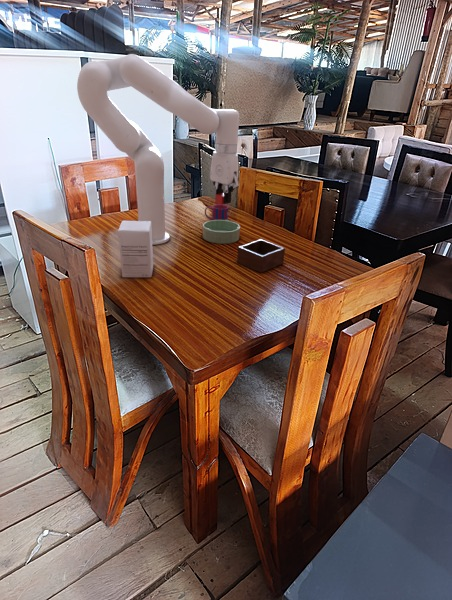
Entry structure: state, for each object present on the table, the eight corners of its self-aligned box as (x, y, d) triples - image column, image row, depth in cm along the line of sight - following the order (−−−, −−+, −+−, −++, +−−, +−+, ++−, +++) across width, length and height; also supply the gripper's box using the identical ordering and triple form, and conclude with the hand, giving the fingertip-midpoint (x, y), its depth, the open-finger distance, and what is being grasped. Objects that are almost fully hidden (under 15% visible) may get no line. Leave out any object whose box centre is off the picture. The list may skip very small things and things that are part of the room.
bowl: (220, 246, 145) (221, 234, 143) (194, 235, 154) (195, 224, 152) (246, 238, 154) (247, 226, 152) (221, 228, 163) (221, 217, 161)
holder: (260, 273, 127) (262, 256, 124) (236, 262, 133) (237, 246, 131) (283, 263, 134) (285, 248, 132) (259, 254, 141) (260, 239, 138)
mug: (225, 225, 165) (226, 209, 162) (202, 222, 168) (202, 206, 164) (229, 221, 171) (230, 205, 168) (207, 218, 173) (207, 202, 170)
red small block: (221, 204, 144) (222, 196, 143) (214, 202, 146) (215, 194, 145) (231, 202, 147) (231, 194, 146) (224, 200, 149) (225, 192, 148)
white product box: (125, 265, 127) (121, 219, 120) (153, 265, 128) (151, 220, 121) (121, 277, 119) (117, 230, 112) (151, 278, 120) (149, 230, 113)
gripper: (201, 146, 140) (200, 198, 149) (236, 153, 130) (232, 208, 139) (217, 144, 145) (214, 195, 154) (251, 152, 135) (246, 205, 144)
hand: (223, 201), depth 146 cm, fingers closed on red small block, 3 cm apart
